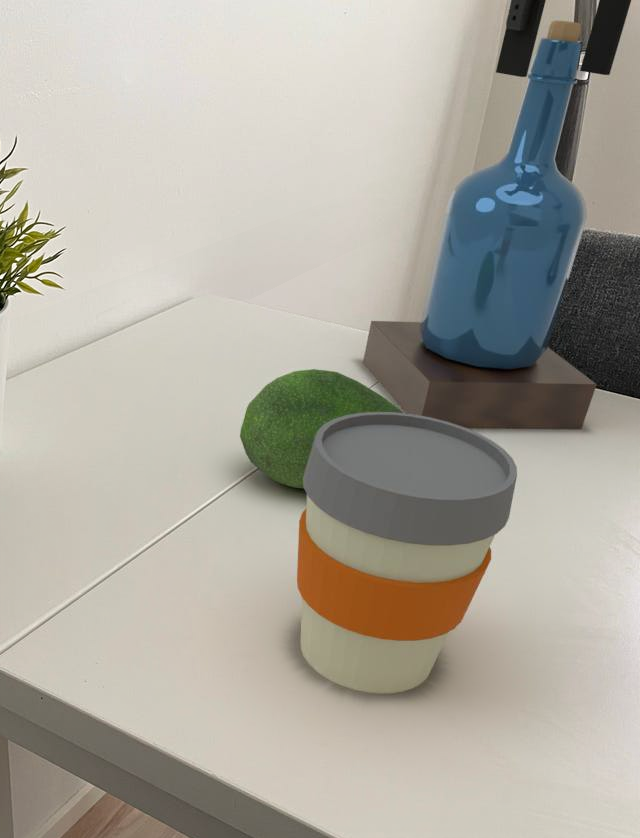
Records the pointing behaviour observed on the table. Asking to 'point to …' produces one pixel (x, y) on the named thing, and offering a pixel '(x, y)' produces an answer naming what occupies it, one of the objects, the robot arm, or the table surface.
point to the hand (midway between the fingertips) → (554, 74)
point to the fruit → (300, 419)
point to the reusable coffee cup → (394, 543)
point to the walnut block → (475, 385)
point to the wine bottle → (511, 231)
